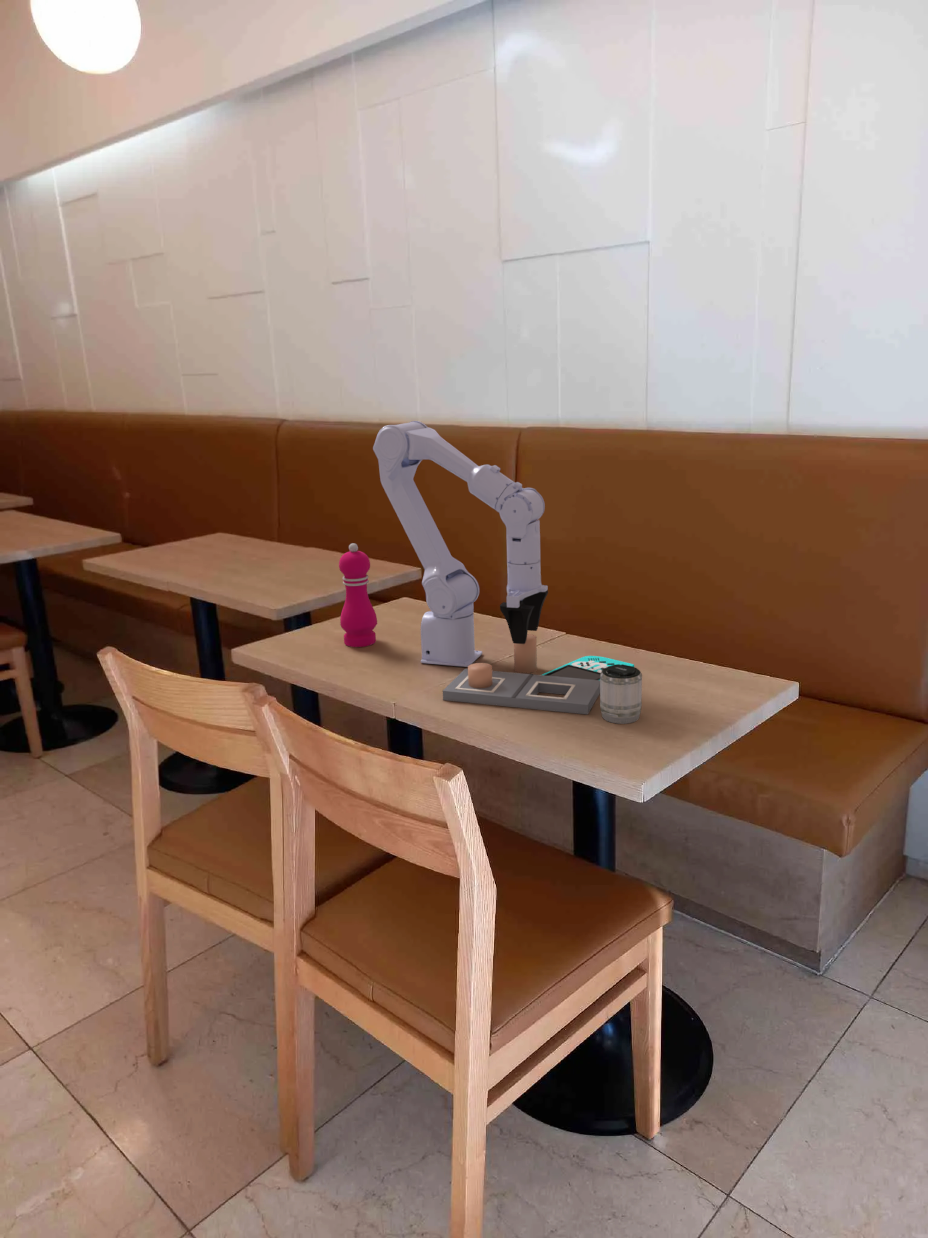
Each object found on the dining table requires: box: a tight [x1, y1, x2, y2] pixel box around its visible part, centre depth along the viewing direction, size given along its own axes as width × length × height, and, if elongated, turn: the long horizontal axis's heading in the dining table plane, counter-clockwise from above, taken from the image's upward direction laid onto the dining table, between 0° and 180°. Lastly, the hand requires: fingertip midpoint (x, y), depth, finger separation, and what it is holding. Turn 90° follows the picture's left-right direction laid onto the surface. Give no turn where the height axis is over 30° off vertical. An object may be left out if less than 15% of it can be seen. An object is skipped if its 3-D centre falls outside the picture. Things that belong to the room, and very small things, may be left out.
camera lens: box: [599, 664, 643, 725], centre depth 138 cm, size 6×6×8 cm
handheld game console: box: [541, 655, 635, 680], centre depth 157 cm, size 10×16×1 cm, turn 136°
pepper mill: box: [338, 542, 378, 648], centre depth 176 cm, size 7×7×20 cm
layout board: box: [442, 662, 600, 715], centre depth 148 cm, size 24×11×5 cm, turn 70°
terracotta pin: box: [513, 633, 538, 674], centre depth 160 cm, size 4×4×6 cm
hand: (525, 636), depth 159 cm, fingers open, 7 cm apart
